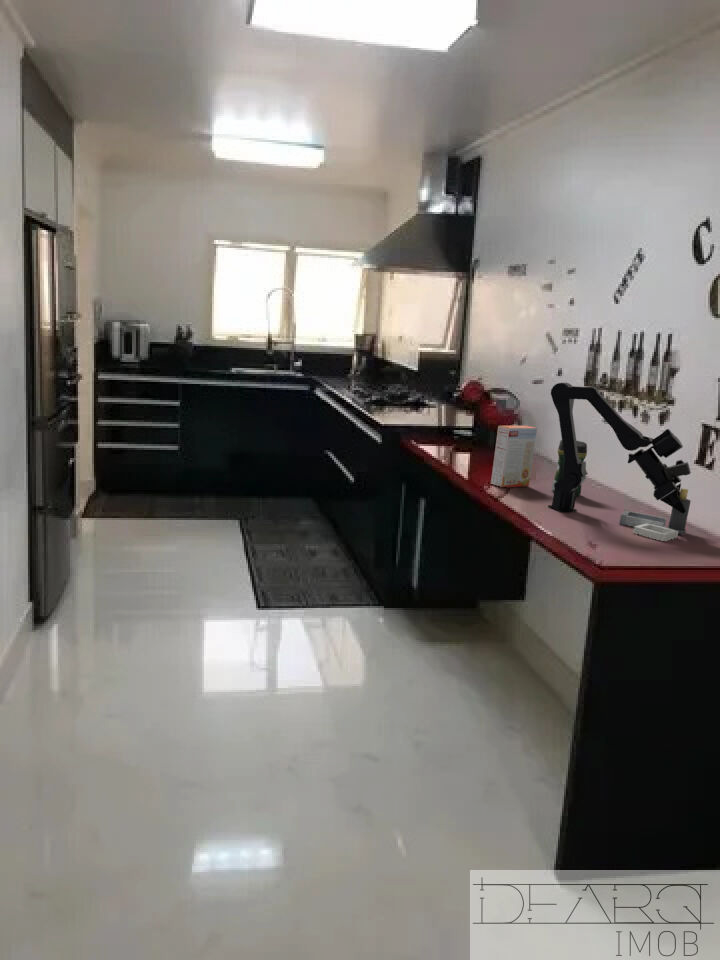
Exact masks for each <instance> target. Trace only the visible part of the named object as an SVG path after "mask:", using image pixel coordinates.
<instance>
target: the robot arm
mask: <svg viewBox="0 0 720 960" xmlns="http://www.w3.org/2000/svg"><path fill="white" fill-rule="evenodd" d="M550 396H551V399H552V402H553V405H554V407H555V409H556V411H557V414H558V421H559V427H560V429H559V430H560V436H561V440H562V444H563V451H564V465H563V478H562V479H560V480H559V481H557V482H556V483H554V487H555V489H554V492H553V497H552V500H551V501H552V503H551V504H548V505H547V506H548V508H550V507H551V509H552V510H553V509H554V510H556V511H559V512H565V513H567V512H570V513H571V512H577V511H578V509H576V508H575V505H576V500H577V496H576V491H575V489H576V488H577V486H579V485H581V486H582V484H583V483H584V482H585V480H586V476H587V475H588V472H587V462H586V461H583V462H581V461H580V459H579V456H578V449H577V442H576V441H577V437H576V435H577V434H576V428H575V420H574V413H573V410H574V403H575V400H586V401H587V402H588V403H589V404H590V405H591V406H592V407H593V408H594V409H595V410H596V412H598V414H599V415H600V416H601V417H602V418H603V419H604V421H606V424H608V425H609V426H610V427H611V428H612V430H613V432H614V433H615V436H616V438H617V440H618V442H620V444H621V446H622V448H623V449H625V450H626V451H631V452H633V451H636V450H637V451H636V452H635V453H628V461H627V464H632V462H635V463H636V464H637V466H638V467H639V468H640V469H641V471H642V473H644V474H645V476H644V477H645V478H646V479H647V480H649V482H650V483H651V484H652V486H653V489H654V491H653V496H654V498H655V500H656V501H659V500H660V501H661V502H663V503H665V504H667V505H668V506H670V507H671V508H672V507H673V508H675V509H676V510H678V511H680V512H681V513H684V512H686V510H685V508H684V506H683V504H682V502H681V500H680V498H679V496H680V491H681V489H682V488H681V487H682V483H681V482H682V479H681V478H680V477H681V476H688V475H690V474H691V473H692V472H691V469H690V464H689V462H687V461H686V462H684V461H683V460H682V459H680V460H677V461H676V462H675V464H673V465H670V466H668V465H667V464H666V463H663V462H662V461H661V459H660V458H663V457H664V458H665V459H667V458H669V457H670V456H672V455H673V454H675V453H676V452H678V451H680V450H682V449H683V448H684V447H683V443H682V442H681V441H680V439H679V437H677V436H676V435H675V434H674V433H673V431H671V429H669V428H667V429H665V430H664V431H662V433H661V434H659V435H657V436H656V437H654V438H652V437H648V436H645V435H643V433H642V432H641V431H640V430H638V429H637V428H636V427H634V426H633V425H632V424H630V423H629V422H628V421H626V420H625V419H624V418H623V417H622V416H621V415H620V414H619V413H618V411H616V409H615V408H614V407H613V406H612V405H611V404H610V403H609V401H608V400H607V399H606V398H605V397H604V396H603V395H602V394H601V392H600V391H599V389H598V388H597V387H595V386H589V387H587V386H573V385H572V384H571V383H569V382H558V383H556V384H554V385H553V386H552V387H551V389H550ZM650 445H652V446H650ZM649 446H650V447H649ZM647 447H648V448H647ZM639 448H641V449H639ZM643 448H647V449H646V450H644V449H643ZM638 449H639V450H638ZM659 457H660V458H659ZM678 483H679V484H678ZM677 484H678V485H677Z"/></svg>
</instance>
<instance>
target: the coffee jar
mask: <svg viewBox="0 0 720 960" xmlns="http://www.w3.org/2000/svg"><path fill="white" fill-rule="evenodd" d="M576 442H577V449H578V456H579V459H580V461H581V462H585V459H586V458H587V454H588V453H587V452H588V445H587V443H586V442H585V441H580V440H576ZM557 454H558V461H557V466H556V470H555V474H554V478H553V482H552V486H551V491H552V492H553V493H554V489H555V487H554V483H556V482H557V481H559V480H560V479H562V478H563V465H564V451H563V444H562V439H561V440H560V441H559V444H558V449H557ZM575 491H576V497H577V496H580V495H581V493H582V484H581V485H579V486H577V488H576V489H575Z"/></svg>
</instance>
